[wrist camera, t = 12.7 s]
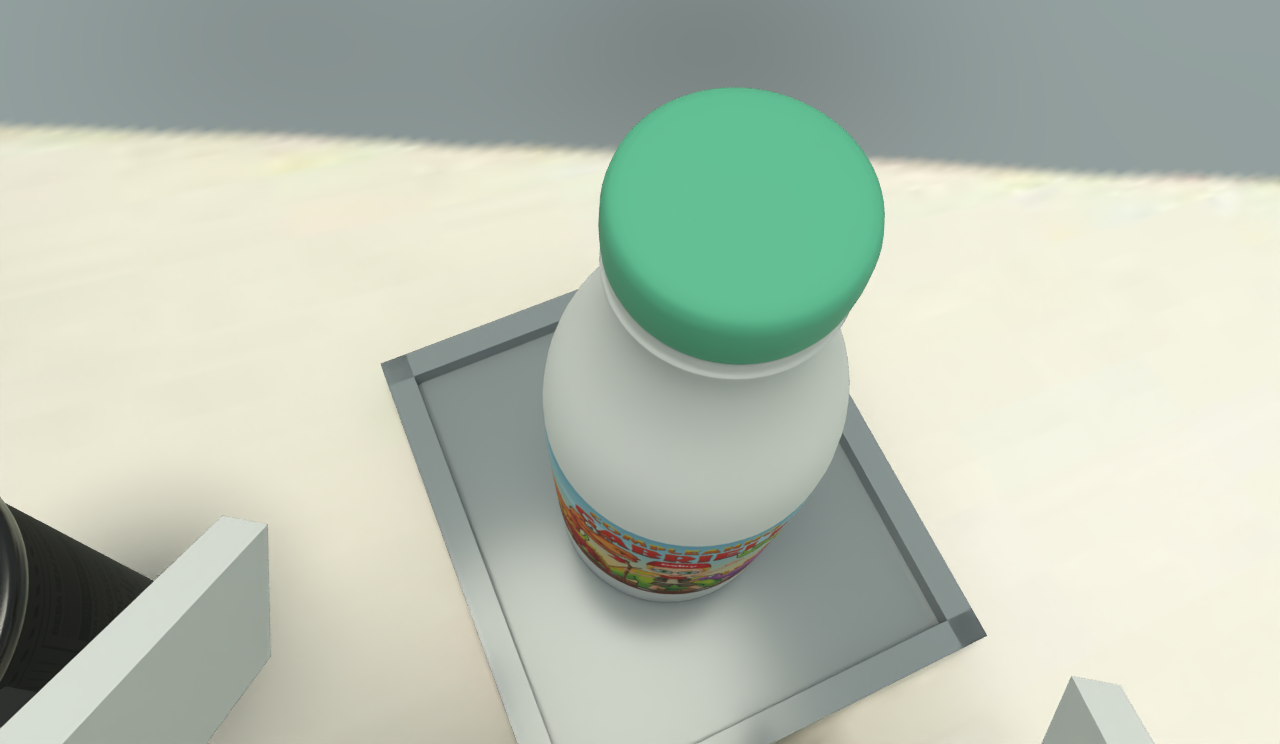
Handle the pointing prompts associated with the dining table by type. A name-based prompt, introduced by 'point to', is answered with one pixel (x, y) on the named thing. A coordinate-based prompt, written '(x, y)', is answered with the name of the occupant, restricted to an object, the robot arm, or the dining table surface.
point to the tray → (649, 630)
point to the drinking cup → (53, 598)
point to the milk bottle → (709, 339)
